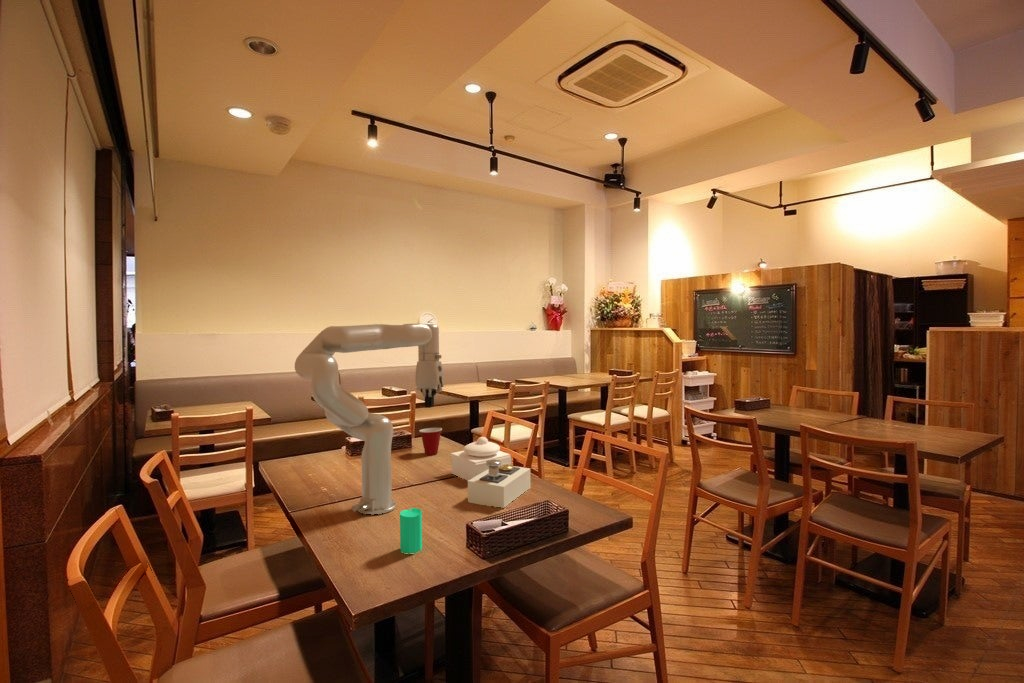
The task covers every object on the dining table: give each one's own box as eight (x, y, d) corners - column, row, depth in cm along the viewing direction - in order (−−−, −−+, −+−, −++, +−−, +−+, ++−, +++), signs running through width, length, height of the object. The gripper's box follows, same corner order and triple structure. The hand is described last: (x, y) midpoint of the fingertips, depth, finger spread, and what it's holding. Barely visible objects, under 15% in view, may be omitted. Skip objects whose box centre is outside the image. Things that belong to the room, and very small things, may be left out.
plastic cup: (435, 449, 236) (434, 425, 235) (446, 454, 228) (446, 429, 227) (415, 453, 229) (414, 428, 228) (426, 458, 221) (426, 432, 220)
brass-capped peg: (509, 491, 174) (509, 469, 174) (497, 489, 176) (497, 467, 176) (516, 486, 179) (515, 465, 178) (503, 484, 181) (503, 463, 181)
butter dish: (476, 485, 184) (475, 444, 183) (450, 474, 198) (450, 436, 197) (511, 476, 195) (511, 437, 194) (485, 466, 209) (484, 429, 208)
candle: (423, 544, 135) (423, 502, 134) (420, 554, 129) (420, 510, 128) (402, 544, 135) (401, 502, 134) (398, 555, 129) (397, 511, 128)
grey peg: (496, 487, 165) (496, 464, 165) (483, 485, 167) (483, 462, 167) (503, 483, 170) (503, 460, 169) (490, 480, 172) (490, 458, 172)
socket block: (503, 508, 160) (503, 485, 160) (467, 502, 166) (467, 479, 166) (530, 488, 180) (530, 467, 180) (497, 483, 186) (497, 462, 186)
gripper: (451, 357, 177) (452, 407, 178) (418, 356, 183) (419, 404, 184) (439, 359, 170) (440, 410, 171) (406, 357, 177) (406, 407, 177)
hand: (429, 407), depth 177 cm, fingers closed
